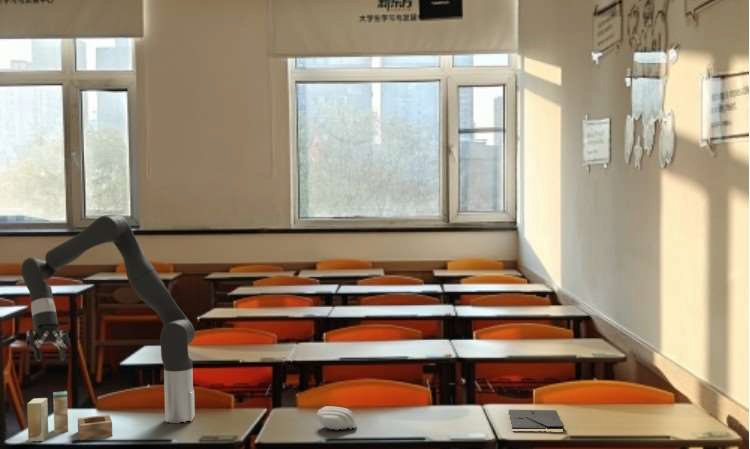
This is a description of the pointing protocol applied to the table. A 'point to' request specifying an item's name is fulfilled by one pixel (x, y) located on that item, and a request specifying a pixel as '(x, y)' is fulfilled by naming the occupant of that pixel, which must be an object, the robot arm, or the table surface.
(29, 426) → the skincare box
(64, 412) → the peg
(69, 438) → the table surface
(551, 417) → the picture frame
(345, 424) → the shell shaped sculpture
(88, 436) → the socket block
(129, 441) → the table surface
